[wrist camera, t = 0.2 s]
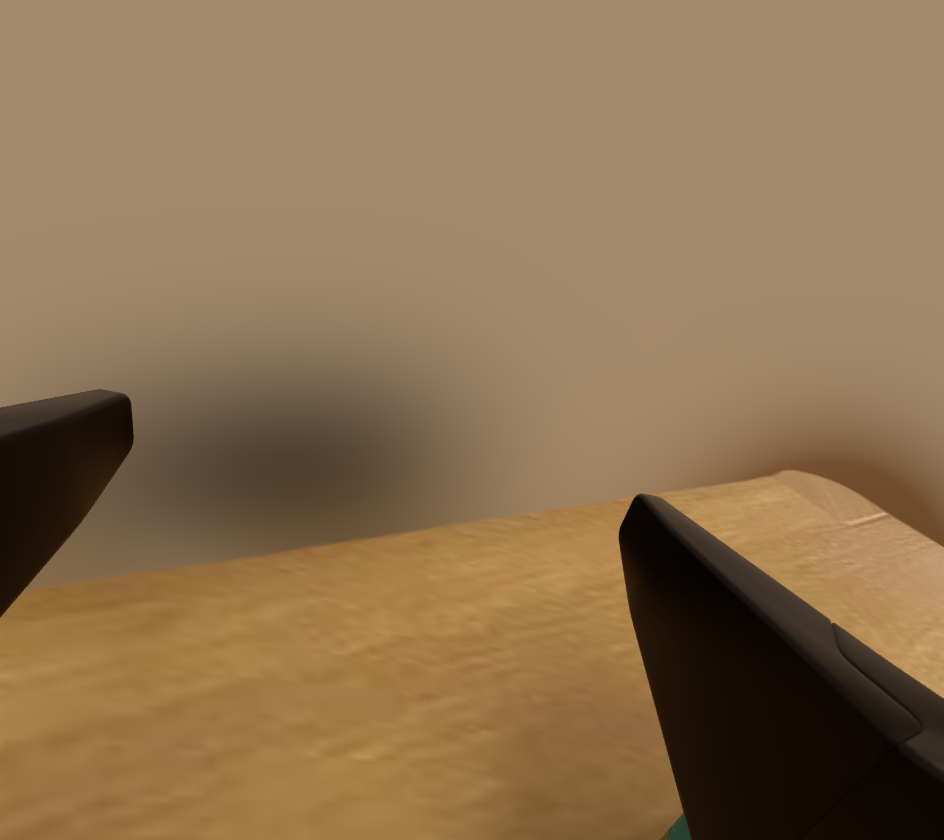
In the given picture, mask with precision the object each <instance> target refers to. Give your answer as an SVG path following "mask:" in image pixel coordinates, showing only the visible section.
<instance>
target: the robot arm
mask: <svg viewBox="0 0 944 840" xmlns="http://www.w3.org/2000/svg"><path fill="white" fill-rule="evenodd" d="M133 435H134V434H133V421H132V410H131V401H130V399H129V397H128V396H127V395H126V394H123V393H119V392H113V391H108V390H102V389H98V390H93V391H87V392H81V393H76V394H71V395H65V396H60V397H55V398H49V399H44V400H39V401H33V402H28V403H23V404H17V405H12V406H7V407H2V408H0V617H1V616H2V615H3V614H4V613H5V611H6V610H7V609H8V608H9V607H10V606H11V604H12V603H13V602H14V601H15V600H16V599H17V597H18V596H19V595H20V594H21V593H22V592H23V590H24V589H25V588H26V587H27V586H28V585H29V583H30V582H31V581H32V580H33V579H34V578H35V576H36V575H37V574H38V573H39V572H40V571H41V569H42V568H43V567H44V566H45V565H46V564H47V562H48V561H49V560H50V559H51V558H52V557H53V555H54V554H55V553H56V552H57V551H58V550H59V548H60V547H61V546H62V545H63V544H64V543H65V541H66V540H67V539H68V537H70V536H71V534H72V533H73V532H74V530H75V529H76V528H77V527H78V526H79V524H80V523H81V522H82V520H83V519H84V518H85V517H86V515H87V514H88V512H89V511H90V510H91V508H92V507H93V505H94V504H95V502H96V501H97V499H98V498H99V496H100V495H101V493H102V492H103V490H104V489H105V487H106V486H107V484H108V483H109V482H110V480H111V479H112V477H113V476H114V474H115V473H116V471H117V470H118V468H119V467H120V465H121V464H122V462H123V461H124V459H125V458H126V456H127V455H128V453H129V452H130V450H131V448H132V445H133V439H134V436H133ZM619 545H620V552H621V558H622V565H623V571H624V578H625V584H626V591H627V598H628V603H629V609H630V613H631V617H632V622H633V626H634V629H635V633H636V637H637V640H638V644H639V648H640V652H641V655H642V659H643V663H644V667H645V670H646V674H647V678H648V681H649V685H650V689H651V693H652V696H653V700H654V704H655V707H656V711H657V715H658V719H659V722H660V726H661V730H662V734H663V737H664V741H665V745H666V748H667V752H668V756H669V760H670V763H671V767H672V771H673V774H674V778H675V782H676V786H677V789H678V793H679V797H680V801H681V804H682V808H683V812H684V815H685V819H686V823H687V827H688V830H689V834H690V838H691V840H944V698H942V697H941V696H939V695H938V694H936V693H935V692H933V691H932V690H930V689H929V688H927V687H926V686H924V685H923V684H921V683H920V682H918V681H917V680H915V679H914V678H913V677H911V676H910V675H908V674H907V673H905V672H904V671H902V670H901V669H899V668H898V667H896V666H895V665H893V664H892V663H890V662H889V661H888V660H886V659H885V658H883V657H882V656H880V655H879V654H878V653H876V652H875V651H873V650H872V649H871V648H869V647H868V646H866V645H865V644H863V643H862V642H861V641H859V640H858V639H856V638H855V637H854V636H852V635H851V634H849V633H848V632H847V631H845V630H844V629H842V628H841V627H840V626H838V625H837V624H835V623H831V621H830V619H828V618H827V617H826V616H824V615H823V614H822V613H820V612H819V611H817V610H816V609H815V608H813V607H812V606H810V605H809V604H808V603H806V602H805V601H803V600H802V599H801V598H799V597H798V596H797V595H795V594H794V593H792V592H791V591H790V590H788V589H787V588H785V587H784V586H783V585H781V584H780V583H778V582H777V581H776V580H774V579H773V578H772V577H770V576H769V575H767V574H766V573H765V572H763V571H762V570H760V569H759V568H758V567H756V566H755V565H754V564H752V563H751V562H749V561H748V560H747V559H745V558H744V557H742V556H741V555H740V554H738V553H737V552H735V551H734V550H733V549H731V548H730V547H729V546H727V545H726V544H724V543H723V542H722V541H720V540H719V539H717V538H716V537H715V536H713V535H712V534H710V533H709V532H708V531H706V530H705V529H704V528H702V527H701V526H699V525H698V524H697V523H695V522H694V521H692V520H691V519H690V518H688V517H687V516H686V515H684V514H683V513H681V512H680V511H679V510H677V509H676V508H674V507H673V506H672V505H670V504H669V503H667V502H666V501H665V500H663V499H662V498H660V497H657V496H652V495H647V494H638V495H636V497H635V498H634V499H633V501H632V503H631V505H630V507H629V509H628V512H627V514H626V516H625V518H624V520H623V522H622V524H621V527H620V530H619Z"/></svg>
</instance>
